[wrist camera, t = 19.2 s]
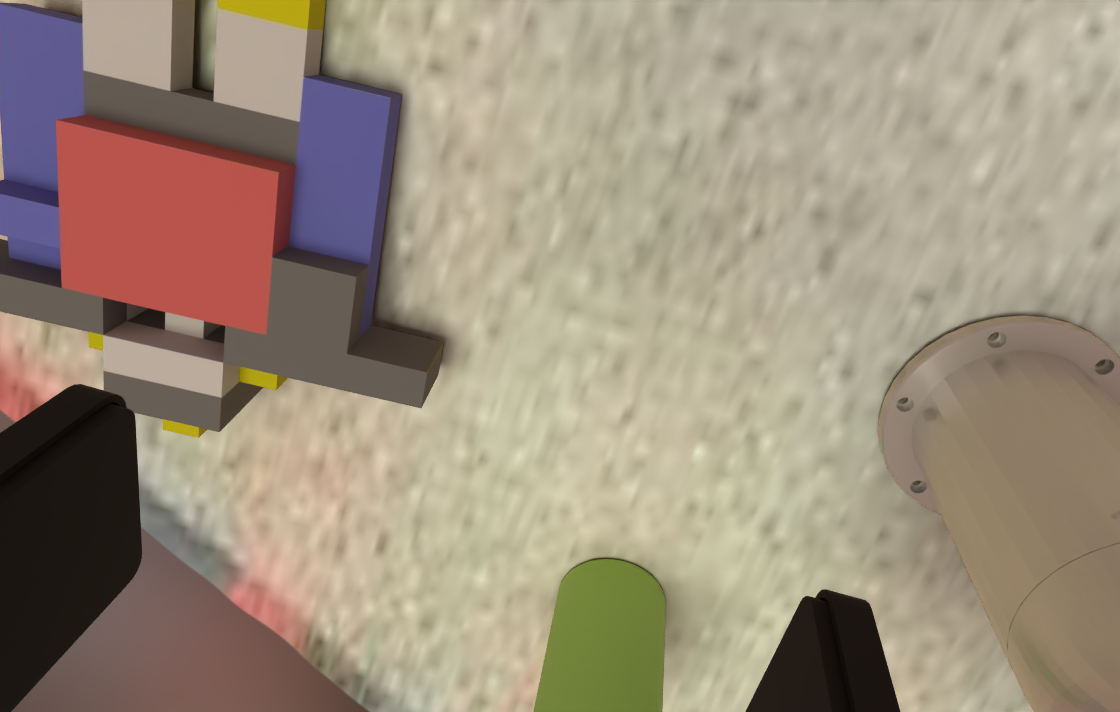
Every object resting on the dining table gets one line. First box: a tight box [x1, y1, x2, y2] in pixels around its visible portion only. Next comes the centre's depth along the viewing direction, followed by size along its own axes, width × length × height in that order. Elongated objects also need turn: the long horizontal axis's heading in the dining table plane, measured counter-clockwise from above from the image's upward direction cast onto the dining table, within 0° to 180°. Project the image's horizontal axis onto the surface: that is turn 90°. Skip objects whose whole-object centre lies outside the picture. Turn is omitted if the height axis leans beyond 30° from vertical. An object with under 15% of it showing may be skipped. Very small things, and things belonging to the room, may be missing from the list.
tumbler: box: [534, 559, 666, 712], centre depth 45 cm, size 8×8×17 cm
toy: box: [0, 0, 444, 438], centre depth 40 cm, size 26×9×30 cm
